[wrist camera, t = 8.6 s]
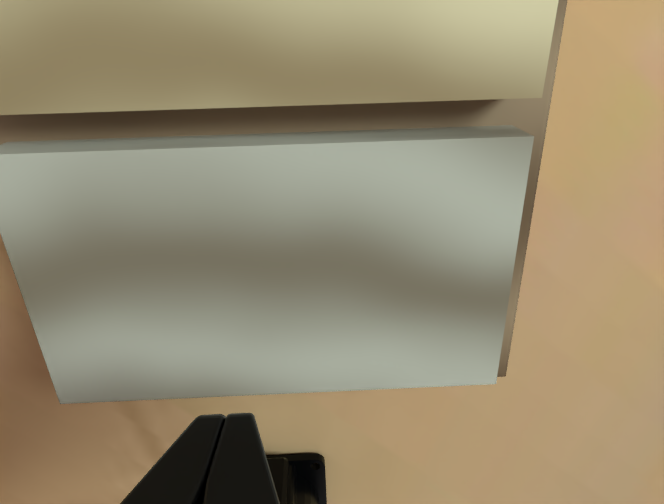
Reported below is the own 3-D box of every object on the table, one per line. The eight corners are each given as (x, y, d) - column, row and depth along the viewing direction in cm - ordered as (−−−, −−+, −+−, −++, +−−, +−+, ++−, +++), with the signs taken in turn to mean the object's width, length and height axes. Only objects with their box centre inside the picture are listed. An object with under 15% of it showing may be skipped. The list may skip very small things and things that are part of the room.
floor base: (465, 303, 22) (521, 405, 16) (112, 318, 22) (37, 428, 16) (559, -545, 12) (811, -1128, 6) (-115, -545, 11) (-583, -1167, 5)
